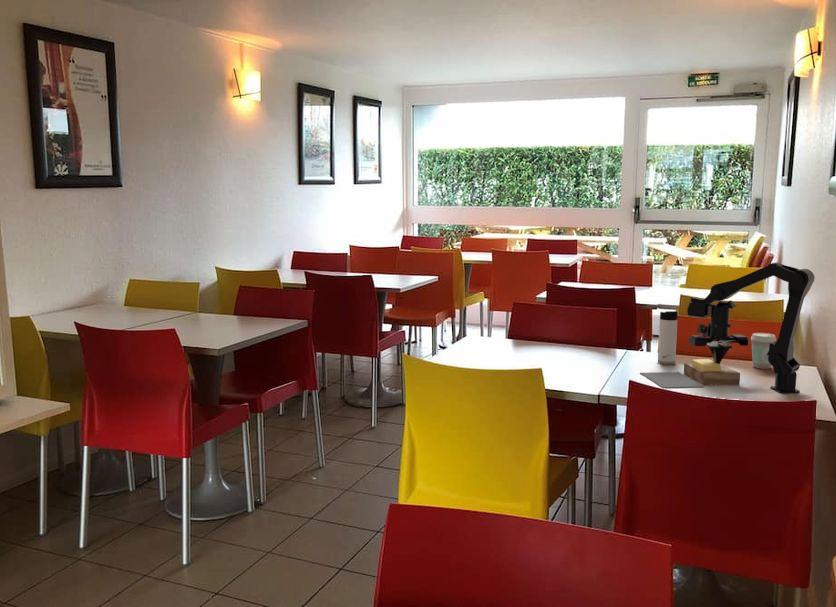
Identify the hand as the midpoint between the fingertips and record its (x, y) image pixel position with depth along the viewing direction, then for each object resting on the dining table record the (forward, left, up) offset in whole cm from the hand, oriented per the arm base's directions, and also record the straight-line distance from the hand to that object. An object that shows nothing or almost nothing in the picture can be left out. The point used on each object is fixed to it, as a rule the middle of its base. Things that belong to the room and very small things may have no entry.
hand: (716, 365), depth 254 cm
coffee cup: (+16, -25, -5) cm, 30 cm away
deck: (0, +2, -5) cm, 5 cm away
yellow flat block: (0, +4, -1) cm, 4 cm away
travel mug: (+25, +7, -5) cm, 26 cm away
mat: (0, +16, -5) cm, 17 cm away
